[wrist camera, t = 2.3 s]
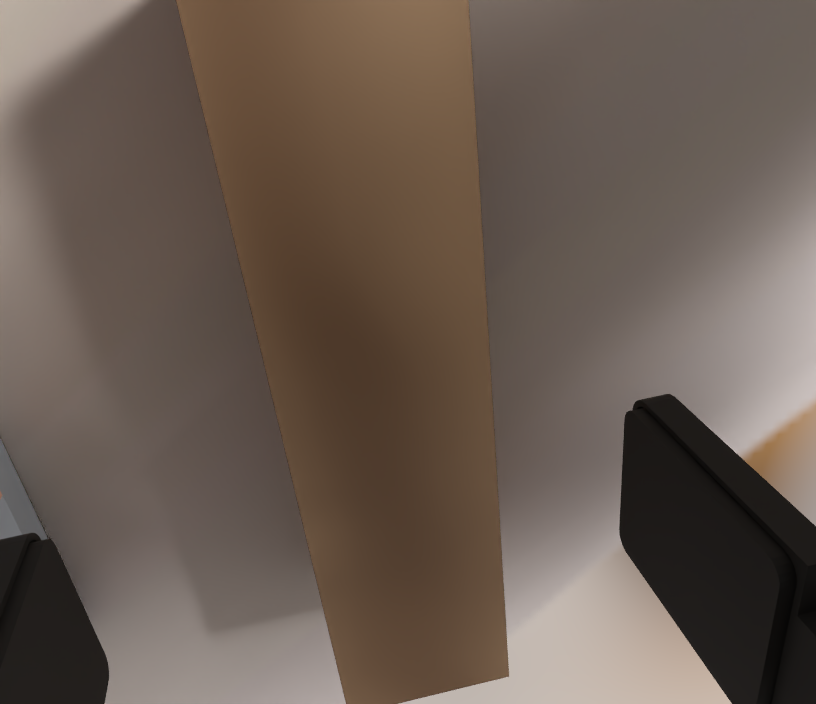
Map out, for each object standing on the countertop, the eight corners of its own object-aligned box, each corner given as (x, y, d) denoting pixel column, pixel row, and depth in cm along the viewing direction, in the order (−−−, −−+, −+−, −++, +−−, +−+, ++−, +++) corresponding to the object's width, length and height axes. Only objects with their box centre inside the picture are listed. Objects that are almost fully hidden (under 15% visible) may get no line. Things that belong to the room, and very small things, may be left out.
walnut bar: (399, -63, 14) (463, -80, 10) (458, 536, 22) (509, 676, 17) (195, -39, 13) (165, -44, 9) (330, 564, 21) (348, 715, 17)
